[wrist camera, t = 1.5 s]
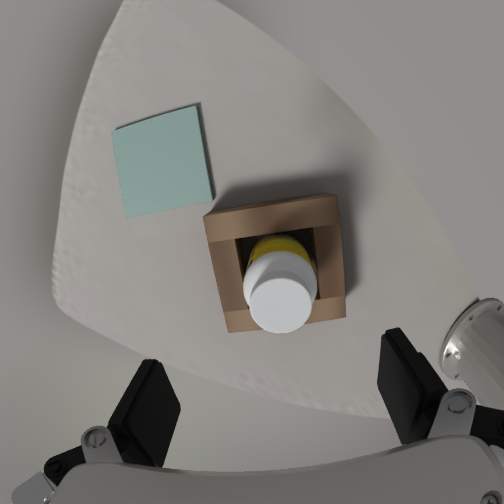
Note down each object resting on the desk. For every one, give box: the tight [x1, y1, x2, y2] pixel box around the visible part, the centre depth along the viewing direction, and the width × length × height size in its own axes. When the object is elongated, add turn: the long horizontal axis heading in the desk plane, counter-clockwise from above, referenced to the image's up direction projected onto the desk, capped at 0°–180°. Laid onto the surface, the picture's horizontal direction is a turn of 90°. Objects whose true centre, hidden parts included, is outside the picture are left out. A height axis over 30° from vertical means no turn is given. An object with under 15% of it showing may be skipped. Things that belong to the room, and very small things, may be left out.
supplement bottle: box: [243, 232, 317, 333], centre depth 22 cm, size 5×5×10 cm
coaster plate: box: [111, 106, 213, 218], centre depth 25 cm, size 9×9×1 cm
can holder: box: [203, 193, 346, 333], centre depth 26 cm, size 11×11×3 cm
